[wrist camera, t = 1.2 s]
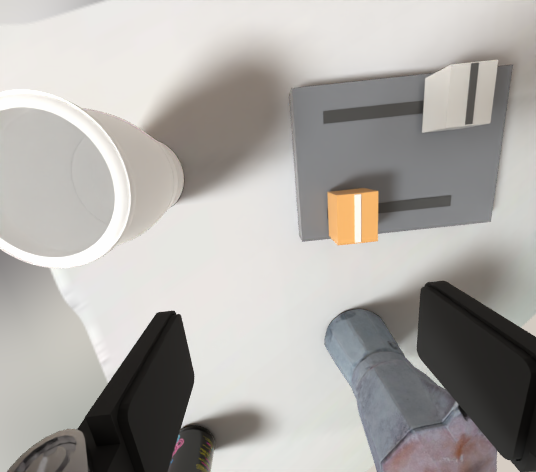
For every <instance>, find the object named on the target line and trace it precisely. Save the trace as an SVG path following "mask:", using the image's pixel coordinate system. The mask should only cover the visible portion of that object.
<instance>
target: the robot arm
mask: <svg viewBox="0 0 536 472" xmlns="http://www.w3.org/2000/svg"><path fill="white" fill-rule="evenodd" d="M417 352H418V355H419V357H420V359H421V360H422V361H423V362H424V364H425V365H426V366H427V367H428V368H429V370H430V371H431V372H432V373H433V374H434V376H435V377H436V378H437V379H438V380H439V382H440V383H441V384H442V385H443V386H444V388H445V389H446V390H447V391H448V392H449V394H450V395H451V396H452V397H453V398H454V400H455V401H456V402H457V403H458V404H459V405H460V407H461V408H462V409H463V410H464V411H465V413H466V414H467V415H468V416H469V417H470V419H471V420H472V421H473V422H474V423H475V425H476V426H477V427H478V428H479V429H480V431H481V432H482V433H483V434H484V435H485V437H486V438H487V439H488V440H489V441H490V443H491V444H492V445H493V446H494V447H495V448H496V450H497V451H498V452H499V453H500V454H501V455H502V456H503V457H504V458H505V459H507V460H511V462H512V463H513V464H514V465H515V466H516V468H517V469H518V470H519V471H520V472H536V337H535V336H533V335H531V334H530V333H528V332H527V331H525V330H524V329H522V328H520V327H519V326H517V325H515V324H514V323H512V322H511V321H509V320H507V319H506V318H504V317H503V316H501V315H499V314H498V313H496V312H495V311H493V310H491V309H490V308H488V307H486V306H485V305H483V304H482V303H480V302H478V301H477V300H475V299H474V298H472V297H470V296H469V295H467V294H465V293H464V292H462V291H461V290H459V289H457V288H456V287H454V286H453V285H451V284H449V283H448V282H446V281H437V282H428V283H426V284H425V286H424V287H423V288H422V289H421V293H420V308H419V323H418V337H417ZM193 384H194V371H193V367H192V362H191V358H190V353H189V349H188V344H187V340H186V335H185V331H184V327H183V322H182V318H181V315H180V314H176V313H175V311H166V312H158V313H157V314H156V315H155V316H154V318H153V319H152V321H151V322H150V324H149V325H148V327H147V328H146V329H145V331H144V332H143V334H142V335H141V337H140V338H139V340H138V341H137V342H136V344H135V345H134V347H133V348H132V350H131V351H130V353H129V354H128V356H127V357H126V358H125V360H124V361H123V363H122V364H121V366H120V367H119V369H118V370H117V371H116V373H115V374H114V376H113V377H112V379H111V380H110V382H109V383H108V385H107V386H106V387H105V389H104V390H103V392H102V393H101V395H100V396H99V398H98V399H97V400H96V402H95V403H94V405H93V406H92V408H91V409H90V411H89V412H88V414H87V415H86V416H85V419H84V420H83V422H82V423H81V425H80V426H79V428H78V429H66V430H62V431H58V432H56V433H54V434H52V435H49V436H47V437H45V438H44V439H42V440H41V441H39V442H38V443H36V444H35V445H33V446H32V447H31V448H29V449H28V450H27V451H26V452H25V453H23V454H22V455H21V456H20V457H19V458H18V459H17V460H16V462H15V463H14V464H13V465H12V466H11V467H10V468H9V470H8V471H7V472H168V469H169V466H170V462H171V459H172V455H173V452H174V449H175V445H176V442H177V439H178V435H179V432H180V428H181V425H182V422H183V418H184V415H185V412H186V408H187V405H188V402H189V398H190V395H191V391H192V388H193Z"/></svg>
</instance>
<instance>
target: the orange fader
mask: <svg viewBox="0 0 536 472" xmlns="http://www.w3.org/2000/svg"><path fill="white" fill-rule="evenodd" d="M327 196H328V223H329V236H330V237H331V239H332V240H333V241H334V242H335V243H336V244H337V245H346V244H355V243H365V242H374V241H378V191H376V190H371V189H367V188H359V189H349V190H340V191H330V192H327Z"/></svg>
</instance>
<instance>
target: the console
mask: <svg viewBox="0 0 536 472" xmlns="http://www.w3.org/2000/svg"><path fill="white" fill-rule="evenodd" d="M512 67H513V65H505V66H497V74H496V82H495V90H494V98H493V106H492V114H491V122H490V123H489V124H484V125H478V126H473V127H468V128H462V129H454V130H444V131H435V132H426V133H422V124H423V107H424V90H425V78H427V77H429V76H430V75H432V74H434V73H429V74H420V75H411V76H401V77H392V78H382V79H373V80H364V81H354V82H345V83H336V84H326V85H317V86H307V87H298V88H292V89H291V92H290V94H289V99H290V113H291V127H292V141H293V155H294V169H295V183H296V197H297V211H298V225H299V236H300V238H301V240H302V242H304V241H313V240H322V239H331V237H330V236H329V223H328V196H327V192H330V191H340V190H349V189H359V188H367V189H371V190H376V191H378V234H379V233H389V232H398V231H408V230H417V229H427V228H436V227H446V226H455V225H465V224H474V223H484V222H491V217H492V209H493V202H494V195H495V188H496V181H497V174H498V167H499V160H500V152H501V145H502V138H503V131H504V124H505V117H506V110H507V103H508V96H509V88H510V81H511V74H512Z"/></svg>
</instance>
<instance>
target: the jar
mask: <svg viewBox="0 0 536 472" xmlns="http://www.w3.org/2000/svg"><path fill="white" fill-rule="evenodd" d="M183 185H184V174H183V169H182V166H181V164H180V161H179V160H178V158H177V156H176V155H175V154H174V152H173V151H172V150H171V149H170V148H168V147H167V146H166V145H164V144H163V143H161V142H159V141H157V140H155V139H154V138H152V137H151V136H150V135H148V134H147V133H145V132H144V131H143V130H141V129H140V128H138V127H137V126H135V125H133V124H131V123H130V122H128V121H126V120H123V119H121V118H119V117H116V116H114V115H111V114H107V113H104V112H100V111H96V110H91V109H85V108H80V107H79V106H77V105H75V104H73V103H71V102H69V101H66V100H64V99H61V98H59V97H57V96H54V95H51V94H48V93H44V92H40V91H34V90H9V91H4V92H0V249H1V250H3V251H4V252H6V253H7V254H9V255H11V256H13V257H15V258H17V259H19V260H22V261H24V262H27V263H30V264H33V265H37V266H41V267H47V268H71V267H77V266H81V265H84V264H87V263H90V262H92V261H94V260H97V259H99V258H101V257H102V256H104V255H105V254H107V253H108V252H110V251H111V250H112V249H113V248H114V247H115V246H118V245H121V244H123V243H126V242H128V241H131V240H133V239H135V238H136V237H138V236H140V235H142V234H143V233H145V232H146V231H147V230H149V229H150V228H151V227H152V226H154V225H155V224H156V223H157V222H158V221H159V219H160V218H161V217H162V216H163V215H164V214H165V212H166V211H167V210H168V209H169V208H170V207H172V206H173V205H174V204H175V203H176V202H177V200H178V199H179V197H180V195H181V193H182V190H183Z"/></svg>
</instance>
